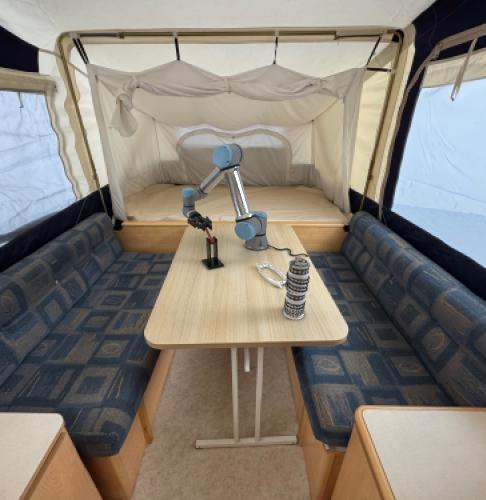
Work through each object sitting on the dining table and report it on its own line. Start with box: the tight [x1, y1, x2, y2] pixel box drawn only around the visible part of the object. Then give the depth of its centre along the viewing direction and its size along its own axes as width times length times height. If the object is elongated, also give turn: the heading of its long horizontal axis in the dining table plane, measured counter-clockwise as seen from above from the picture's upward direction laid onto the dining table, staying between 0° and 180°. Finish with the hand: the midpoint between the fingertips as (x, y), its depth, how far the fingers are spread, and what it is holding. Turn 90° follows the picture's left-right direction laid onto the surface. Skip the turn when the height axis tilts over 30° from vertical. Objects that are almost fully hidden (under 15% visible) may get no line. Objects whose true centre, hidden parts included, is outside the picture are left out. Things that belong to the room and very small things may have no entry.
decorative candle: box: [283, 256, 311, 321], centre depth 106 cm, size 9×9×25 cm
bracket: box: [201, 235, 225, 271], centre depth 148 cm, size 11×9×16 cm
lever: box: [202, 222, 215, 246], centre depth 148 cm, size 15×4×4 cm, turn 27°
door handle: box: [255, 261, 287, 289], centre depth 139 cm, size 3×10×25 cm
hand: (207, 228), depth 147 cm, fingers closed on lever, 4 cm apart
